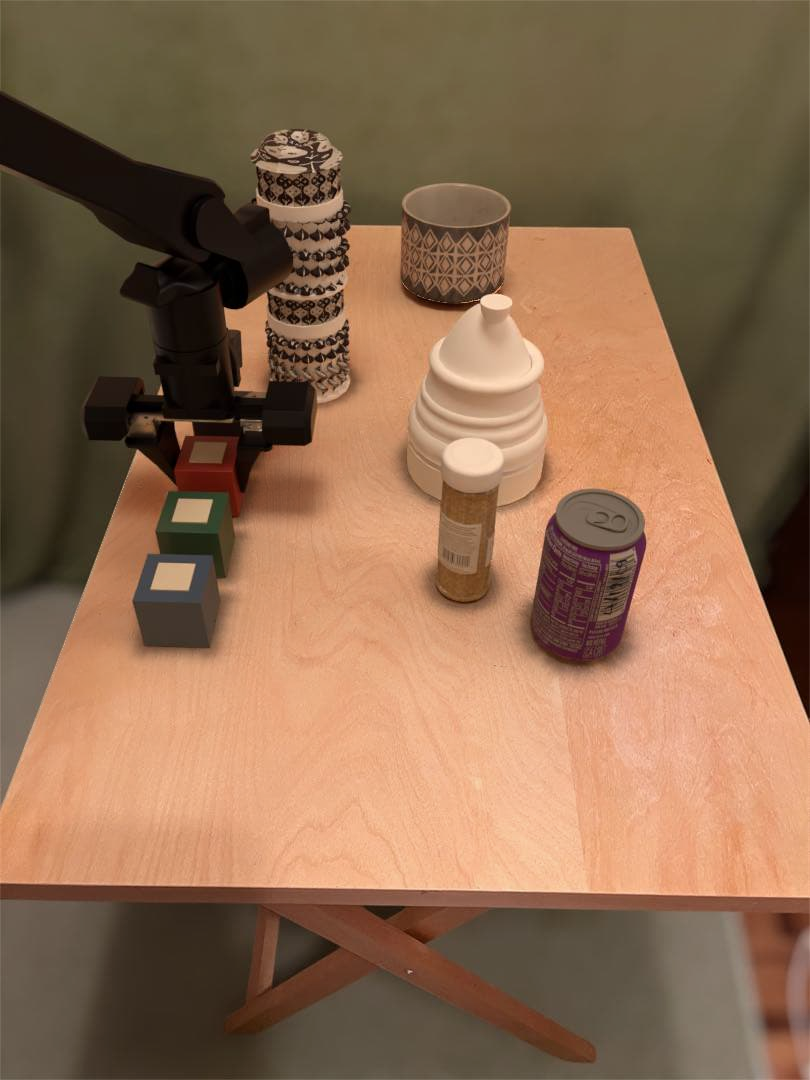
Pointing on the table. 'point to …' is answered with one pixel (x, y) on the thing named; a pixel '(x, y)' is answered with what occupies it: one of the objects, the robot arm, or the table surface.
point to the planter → (454, 241)
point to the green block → (197, 526)
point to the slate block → (177, 600)
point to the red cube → (209, 467)
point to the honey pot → (481, 400)
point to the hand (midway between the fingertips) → (214, 488)
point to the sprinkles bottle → (468, 517)
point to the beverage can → (588, 573)
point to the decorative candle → (307, 260)
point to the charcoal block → (219, 425)
